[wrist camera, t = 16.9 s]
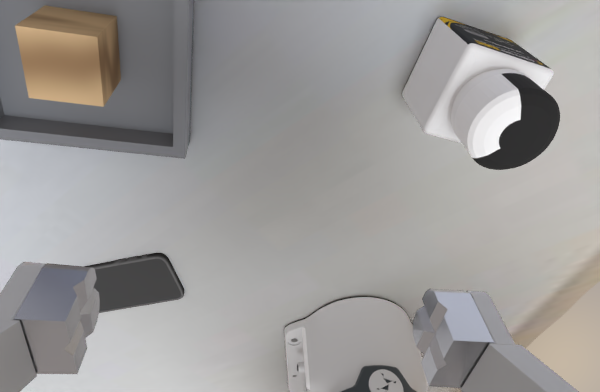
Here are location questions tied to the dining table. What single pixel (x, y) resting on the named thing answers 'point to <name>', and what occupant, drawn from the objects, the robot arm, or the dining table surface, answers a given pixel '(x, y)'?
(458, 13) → the dining table surface
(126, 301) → the smartphone
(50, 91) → the oversize block
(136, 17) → the sorting tray
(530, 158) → the medicine bottle
